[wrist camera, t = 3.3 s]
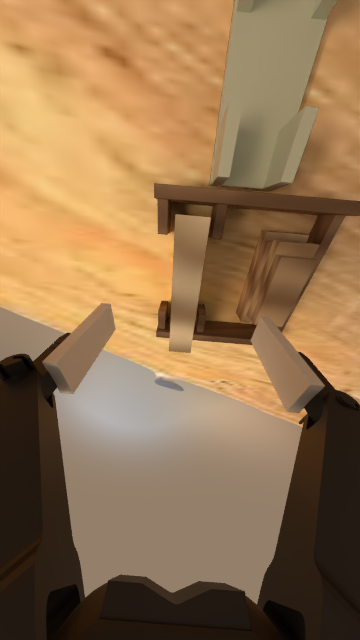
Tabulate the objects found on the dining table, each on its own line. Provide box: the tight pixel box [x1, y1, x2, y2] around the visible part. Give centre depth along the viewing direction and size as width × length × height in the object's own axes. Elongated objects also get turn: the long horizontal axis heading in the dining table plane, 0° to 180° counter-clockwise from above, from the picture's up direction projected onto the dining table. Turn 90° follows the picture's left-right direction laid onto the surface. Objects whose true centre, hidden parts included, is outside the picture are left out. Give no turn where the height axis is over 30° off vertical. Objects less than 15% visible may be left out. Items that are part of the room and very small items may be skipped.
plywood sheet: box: [169, 214, 211, 353], centre depth 22 cm, size 16×3×11 cm, turn 176°
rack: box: [154, 183, 360, 345], centre depth 24 cm, size 21×23×6 cm
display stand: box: [209, 0, 338, 191], centre depth 14 cm, size 16×8×6 cm, turn 176°
